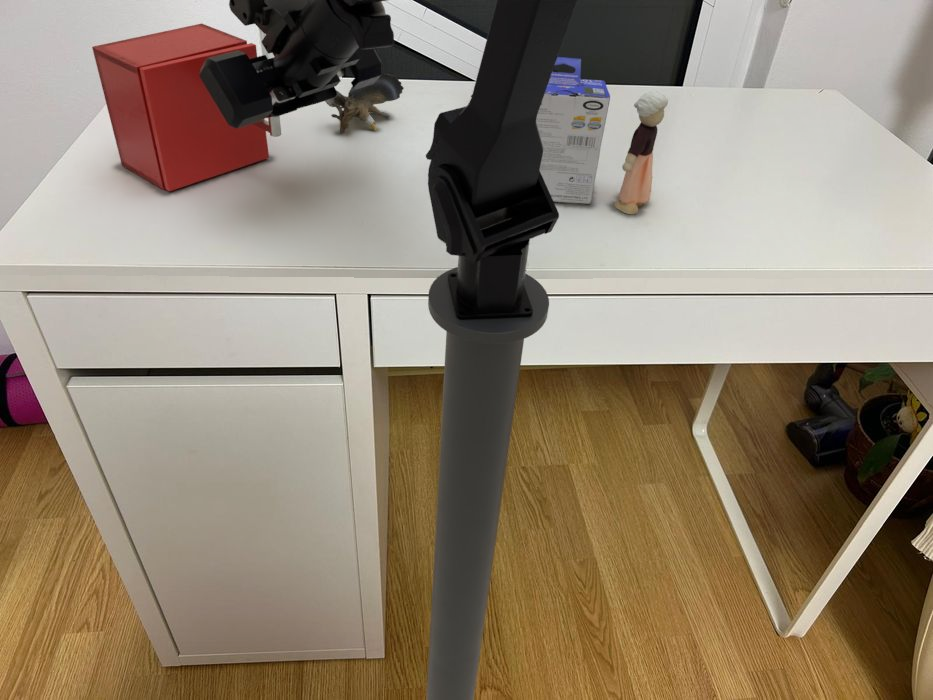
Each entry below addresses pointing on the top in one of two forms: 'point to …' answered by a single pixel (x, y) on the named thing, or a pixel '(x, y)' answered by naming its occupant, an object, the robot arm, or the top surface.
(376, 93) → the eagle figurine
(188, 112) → the door
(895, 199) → the top surface
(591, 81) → the ink cartridge box
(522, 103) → the robot arm
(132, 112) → the cabinet
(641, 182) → the grandmother figurine
